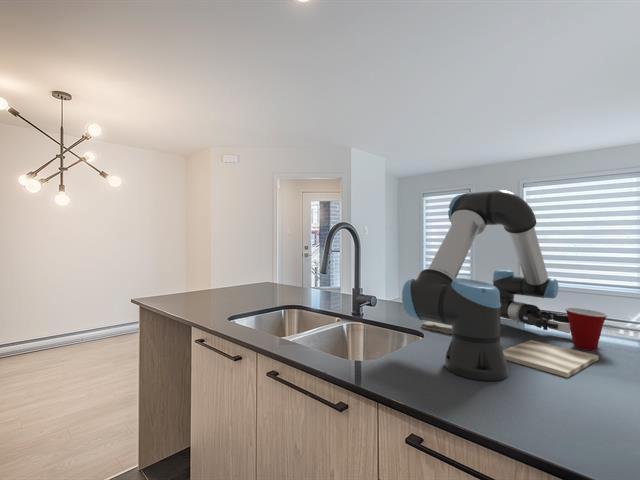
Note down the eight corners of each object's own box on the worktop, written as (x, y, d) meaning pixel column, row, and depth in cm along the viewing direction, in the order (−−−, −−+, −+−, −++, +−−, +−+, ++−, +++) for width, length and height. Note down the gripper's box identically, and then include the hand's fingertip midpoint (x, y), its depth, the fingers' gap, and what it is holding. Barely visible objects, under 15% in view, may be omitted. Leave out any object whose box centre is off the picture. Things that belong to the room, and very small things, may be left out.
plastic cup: (617, 354, 100) (617, 314, 100) (576, 352, 102) (576, 313, 102) (595, 343, 111) (595, 307, 111) (558, 341, 113) (558, 306, 113)
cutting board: (567, 377, 83) (567, 372, 83) (495, 356, 98) (495, 352, 98) (598, 359, 96) (598, 355, 96) (530, 343, 111) (530, 340, 111)
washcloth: (434, 323, 139) (434, 316, 139) (478, 332, 126) (478, 324, 126) (419, 329, 131) (419, 321, 131) (465, 339, 118) (465, 330, 118)
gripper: (548, 320, 132) (609, 335, 112) (499, 325, 124) (556, 342, 104) (548, 301, 132) (609, 312, 112) (499, 305, 124) (556, 318, 103)
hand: (584, 327), depth 107 cm, fingers open, 13 cm apart
